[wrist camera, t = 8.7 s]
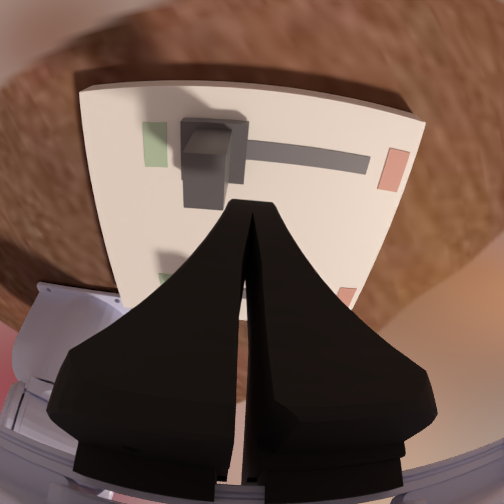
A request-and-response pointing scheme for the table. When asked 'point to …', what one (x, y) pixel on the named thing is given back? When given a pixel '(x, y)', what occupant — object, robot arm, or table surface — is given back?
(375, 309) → the table surface
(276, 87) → the breaker panel
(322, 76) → the table surface
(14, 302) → the table surface
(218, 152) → the breaker
